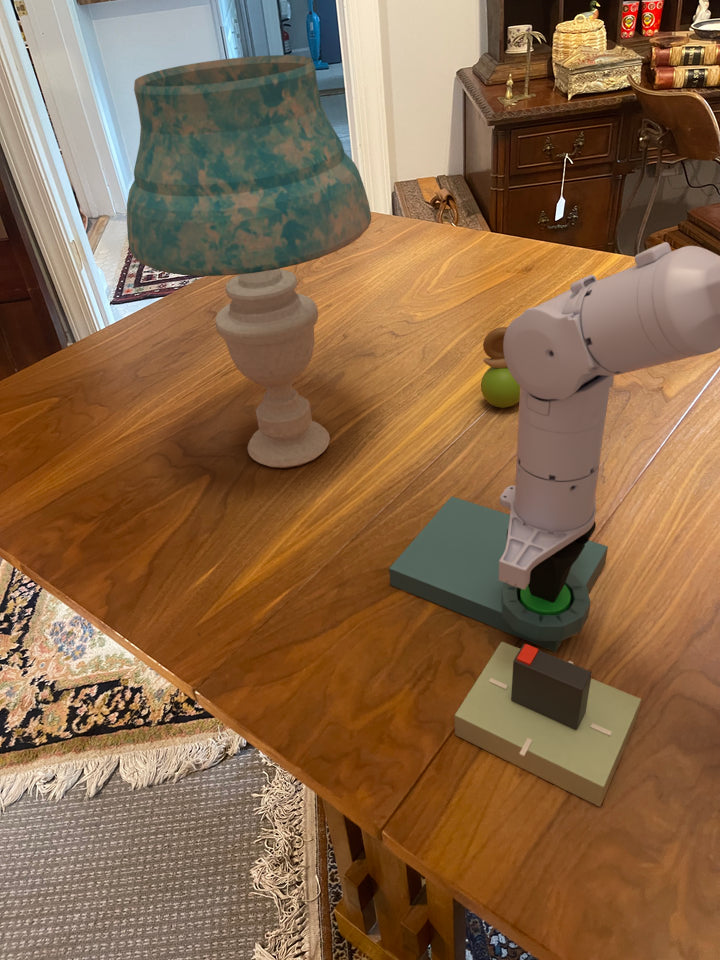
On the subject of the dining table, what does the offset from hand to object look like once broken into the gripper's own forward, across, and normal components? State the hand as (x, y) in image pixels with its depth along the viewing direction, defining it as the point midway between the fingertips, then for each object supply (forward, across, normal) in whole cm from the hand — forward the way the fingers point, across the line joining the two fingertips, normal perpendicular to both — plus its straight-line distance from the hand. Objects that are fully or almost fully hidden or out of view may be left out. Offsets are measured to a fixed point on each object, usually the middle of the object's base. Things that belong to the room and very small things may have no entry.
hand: (545, 593), depth 60 cm
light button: (+2, 0, 0) cm, 2 cm away
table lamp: (+4, -12, -37) cm, 39 cm away
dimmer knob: (+1, +9, +4) cm, 10 cm away
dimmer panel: (+4, +9, +4) cm, 11 cm away
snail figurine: (+4, -32, -18) cm, 37 cm away
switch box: (+4, -3, -5) cm, 7 cm away
